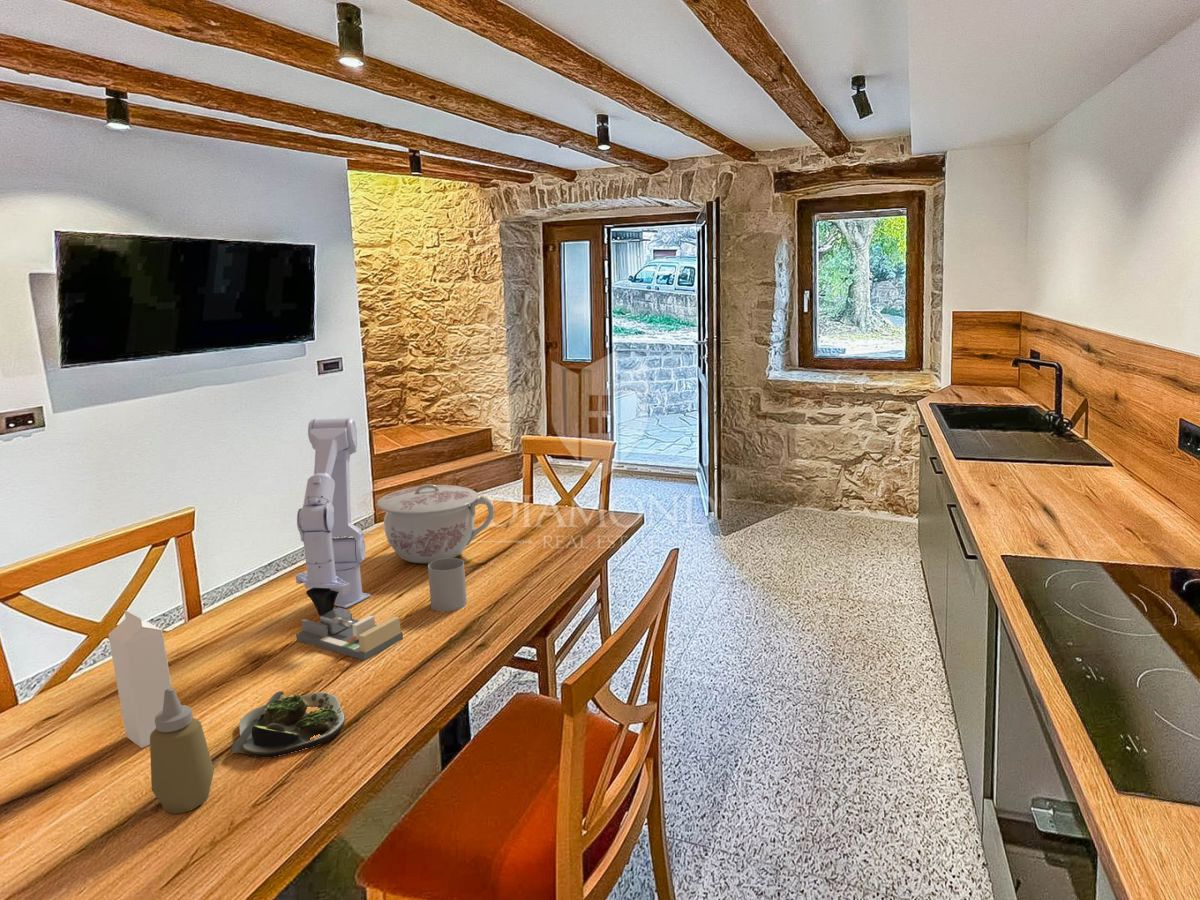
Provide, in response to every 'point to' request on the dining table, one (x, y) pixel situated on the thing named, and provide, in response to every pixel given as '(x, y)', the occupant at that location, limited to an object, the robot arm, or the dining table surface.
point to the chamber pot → (432, 521)
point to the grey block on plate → (337, 620)
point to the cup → (447, 584)
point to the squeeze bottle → (179, 757)
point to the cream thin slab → (362, 627)
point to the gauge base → (358, 648)
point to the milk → (139, 675)
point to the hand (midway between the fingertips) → (326, 618)
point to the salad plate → (289, 724)
